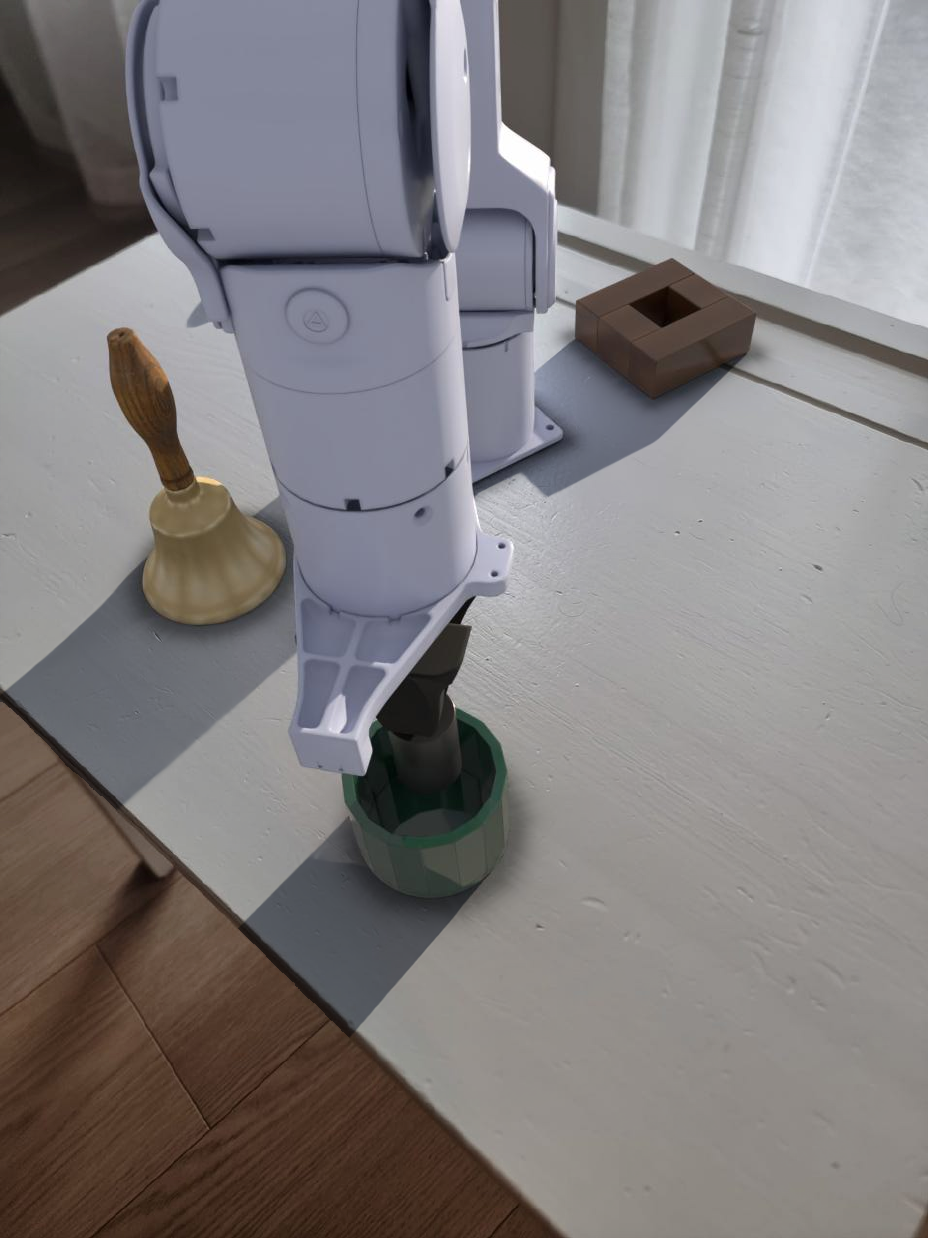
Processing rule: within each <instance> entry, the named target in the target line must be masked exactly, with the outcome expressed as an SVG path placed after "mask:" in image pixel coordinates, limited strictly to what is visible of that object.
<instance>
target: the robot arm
mask: <svg viewBox="0 0 928 1238" xmlns="http://www.w3.org/2000/svg"><path fill="white" fill-rule="evenodd" d="M499 22H500V19H499V0H139V2H138V3H137V4H136V5H135V7H134V10H133V12H132V15H131V18H130V22H129V26H128V30H127V38H126V45H125V60H124V63H125V64H124V65H125V66H124V67H125V70H124V71H125V93H126V94H125V95H126V103H127V114H128V120H129V127H130V132H131V138H132V141H133V147H134V151H135V155H136V159H137V163H138V169H139V180H138V183H139V189H140V191H141V194H142V197H143V200H144V202H145V205H146V207H147V210H148V212H149V215H150V217H151V219H152V222H153V224H154V226H155V228H156V231H157V232H158V234H159V236H160V237H161V240H162V241H163V242H164V243H165V246H166V247H167V248H168V249H169V250H170V252H171V253H172V254H173V255H174V256H175V257H176V258H177V259H178V260H179V261H180V262H181V263H183V264H184V266H185V267H186V268H187V270H188V271H189V273H190V274H191V277H192V279H193V281H194V283H195V286H196V288H197V291H198V294H199V299H200V301H201V304H202V307H203V310H204V314H205V317H206V320H207V322H209V323H212V325H213V327H214V328H215V329H216V330H222V331H223V332H224V333H226V334H230V335H231V334H233V336H234V340H235V343H236V346H237V349H238V354H239V356H240V360H241V364H242V367H243V371H244V375H245V378H246V381H247V385H248V390H249V393H250V395H251V400H252V403H253V407H254V409H255V410H254V411H255V414H256V417H257V420H258V424H259V427H260V431H261V434H262V438H263V441H264V446H265V448H266V449H265V450H266V453H267V457H268V459H269V462H270V466H271V469H272V472H273V473H272V474H273V477H274V480H275V484H276V487H277V490H278V491H277V492H278V494H279V498H280V501H281V505H282V509H283V513H284V516H285V519H286V522H287V526H288V530H289V533H290V537H291V541H292V544H293V548H294V549H293V560H292V566H293V567H292V568H293V569H292V570H293V589H294V591H293V592H294V614H295V635H294V640H295V645H296V659H297V660H296V662H297V663H296V664H297V693H296V699H295V706H294V710H293V713H292V717H291V719H290V723H289V726H288V729H287V733H288V736H289V738H290V741H291V743H292V746H293V750H294V752H295V755H296V758H297V760H298V763H299V765H300V767H302V768H308V769H314V770H315V769H316V770H320V771H325V772H330V773H338V774H341V775H342V774H343V773H345V774H352V775H358V776H364V775H365V774H366V771H367V768H368V765H369V761H370V758H371V755H372V746H371V742H370V738H369V728H370V726H371V724H372V723H373V722H374V721H375V719H376V720H378V721H379V722H380V724H381V725H382V726H383V728H384V729H385V730H386V731H391V732H398V733H405V734H411V735H418V736H425V737H432V736H434V735H435V733H436V730H437V728H438V724H439V720H440V716H441V713H442V709H443V702H444V698H445V695H446V693H447V694H448V689H449V686H451V685H453V683H454V681H455V680H456V677H457V675H458V673H459V671H460V670H461V667H462V665H463V662H464V658H465V656H466V651H467V647H468V643H469V639H470V636H471V632H472V628H473V626H472V625H467V624H462V622H463V620H464V617H465V616H466V614H467V612H468V610H469V608H470V607H471V605H472V603H473V602H474V601H475V599H476V598H477V597H487V598H494V597H499V596H501V595H502V594H505V592H506V591H507V589H508V588H509V584H510V580H511V576H512V572H513V568H514V564H515V548H514V543H513V542H512V541H511V540H510V539H509V538H506V537H503V536H499V535H492V534H489V533H486V532H484V531H483V530H482V528H481V524H480V519H479V515H478V510H477V505H476V500H475V496H474V491H473V484H474V483H477V482H478V481H481V480H482V479H484V478H486V477H489V476H491V475H493V474H495V473H496V472H498V471H501V470H502V469H504V468H507V467H508V466H511V465H512V464H514V463H516V462H518V461H520V460H522V459H525V458H526V457H528V456H531V455H533V454H535V453H537V452H540V450H543V449H545V448H547V447H549V446H551V445H553V444H555V443H557V442H559V441H561V440H562V439H563V438H564V430H563V429H562V428H561V427H560V426H559V425H557V424H556V422H554V421H553V420H552V419H551V418H550V417H548V415H546V414H545V413H544V412H543V411H542V410H541V409H540V408H538V407H537V406H536V405H535V341H534V340H535V336H534V335H535V331H534V329H535V314H536V315H545V314H547V313H548V310H549V309H550V308H552V306H553V305H555V303H556V301H557V300H556V299H557V298H556V297H557V296H556V295H557V269H558V265H557V264H558V200H557V199H556V169H555V168H554V166H551V158H550V156H549V155H548V154H547V153H545V152H544V151H543V150H541V149H540V148H539V147H537V146H535V144H533V143H531V142H530V141H528V140H527V139H525V138H524V137H522V136H521V135H519V134H518V133H516V132H514V130H512V129H510V128H509V127H508V126H507V125H505V123H504V122H503V120H502V92H501V91H502V90H501V56H500V55H501V54H500V53H501V52H500V23H499ZM535 312H536V313H535Z"/></svg>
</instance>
